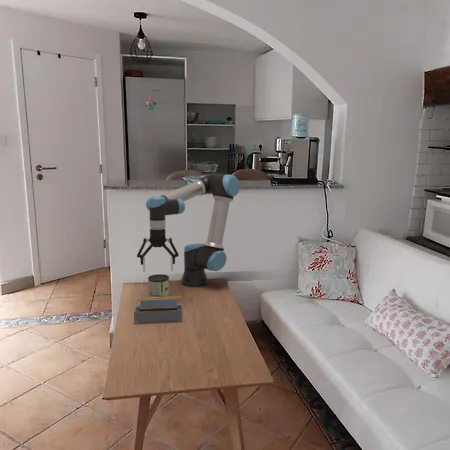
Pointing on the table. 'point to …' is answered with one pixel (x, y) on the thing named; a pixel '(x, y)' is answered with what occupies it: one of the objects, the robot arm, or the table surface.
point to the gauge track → (158, 316)
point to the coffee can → (158, 285)
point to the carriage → (158, 302)
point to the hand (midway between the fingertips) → (158, 270)
